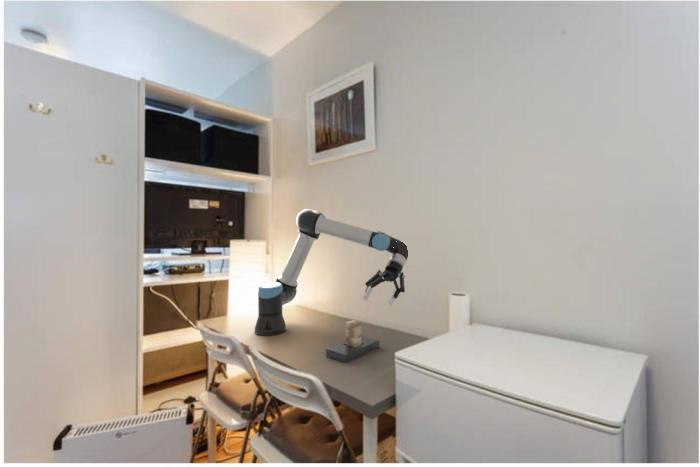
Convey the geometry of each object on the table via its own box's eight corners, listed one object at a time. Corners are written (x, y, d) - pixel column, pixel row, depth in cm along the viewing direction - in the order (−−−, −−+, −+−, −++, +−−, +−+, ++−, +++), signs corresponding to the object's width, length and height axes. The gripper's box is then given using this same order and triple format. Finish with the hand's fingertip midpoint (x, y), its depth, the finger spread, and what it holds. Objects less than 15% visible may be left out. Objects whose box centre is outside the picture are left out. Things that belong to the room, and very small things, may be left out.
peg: (346, 351, 128) (346, 322, 128) (352, 348, 132) (352, 320, 132) (354, 354, 125) (354, 324, 126) (361, 351, 129) (361, 321, 129)
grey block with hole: (326, 356, 123) (326, 348, 123) (360, 342, 140) (360, 335, 140) (345, 363, 117) (345, 354, 117) (379, 347, 134) (379, 339, 134)
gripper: (421, 272, 145) (404, 310, 134) (377, 268, 161) (358, 302, 150) (416, 261, 141) (398, 300, 130) (371, 258, 157) (351, 292, 146)
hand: (377, 301), depth 140 cm, fingers open, 13 cm apart
